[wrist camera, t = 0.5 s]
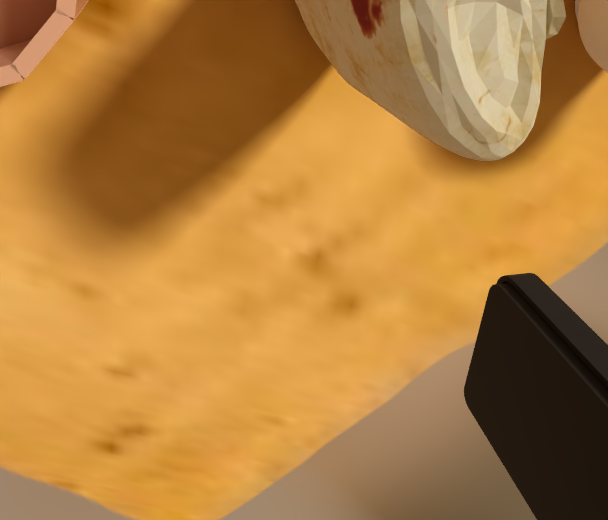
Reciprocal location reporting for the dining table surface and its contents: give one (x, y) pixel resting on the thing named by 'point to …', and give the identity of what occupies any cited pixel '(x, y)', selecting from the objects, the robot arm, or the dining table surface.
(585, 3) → the teacup
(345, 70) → the food model
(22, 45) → the bowl
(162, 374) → the dining table surface
